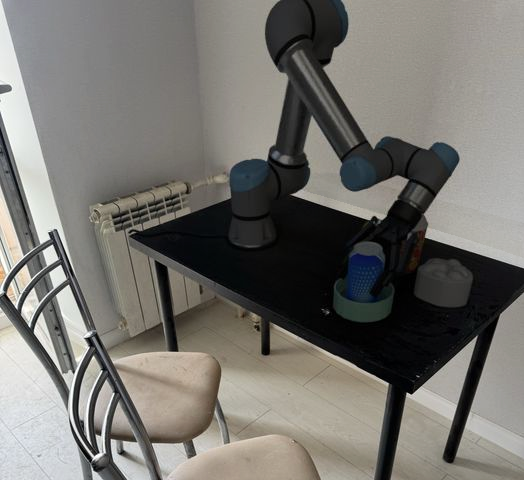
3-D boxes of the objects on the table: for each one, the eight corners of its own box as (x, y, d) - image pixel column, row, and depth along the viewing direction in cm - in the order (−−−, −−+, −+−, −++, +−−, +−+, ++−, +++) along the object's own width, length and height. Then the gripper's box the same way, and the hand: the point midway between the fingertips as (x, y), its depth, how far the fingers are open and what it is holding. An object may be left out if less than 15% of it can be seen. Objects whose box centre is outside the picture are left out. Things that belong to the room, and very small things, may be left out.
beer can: (381, 299, 128) (389, 242, 118) (376, 317, 122) (383, 258, 112) (348, 294, 131) (353, 238, 121) (342, 311, 124) (346, 253, 115)
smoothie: (387, 274, 139) (396, 204, 126) (391, 260, 145) (401, 192, 133) (418, 278, 136) (430, 207, 124) (421, 264, 143) (434, 195, 130)
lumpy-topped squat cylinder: (429, 279, 136) (435, 250, 130) (475, 296, 129) (483, 266, 123) (408, 294, 130) (413, 265, 125) (455, 313, 123) (463, 282, 117)
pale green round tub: (335, 323, 121) (336, 304, 118) (331, 291, 133) (332, 273, 129) (396, 323, 120) (399, 303, 117) (386, 291, 132) (389, 272, 128)
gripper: (455, 230, 113) (398, 312, 116) (380, 201, 128) (331, 274, 131) (444, 214, 108) (384, 300, 111) (367, 185, 123) (316, 262, 126)
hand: (355, 286), depth 121 cm, fingers open, 10 cm apart
